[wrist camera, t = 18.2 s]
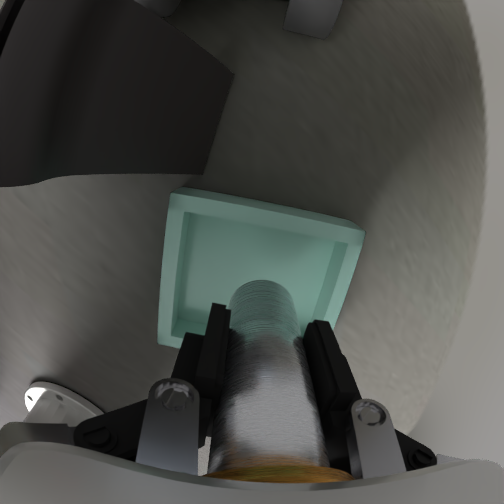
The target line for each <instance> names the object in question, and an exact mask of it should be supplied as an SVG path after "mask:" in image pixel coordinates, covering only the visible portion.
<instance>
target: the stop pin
mask: <svg viewBox="0 0 504 504" xmlns="http://www.w3.org/2000/svg"><path fill="white" fill-rule="evenodd" d="M228 309H230V310H231V318H230V327H229V336H228V344H227V353H226V362H225V371H224V379H223V385H222V390H221V395H220V400H219V404H218V406H217V408H216V410H215V413H214V420H213V428H212V436H211V445H210V453H209V462H208V471H207V474H205V475H202V476H204V477H210V478H218V479H226V480H235V481H247V482H263V483H322V482H338V481H349V480H355V479H354V477H353V476H352V475H350V474H349V473H347V472H344V471H342V470H338V469H334V468H330V464H329V459H328V454H327V449H326V444H325V439H324V434H323V429H322V424H321V420H320V415H319V410H318V406H317V401H316V397H315V392H314V388H313V383H312V379H311V374H310V370H309V365H308V361H307V357H306V352H305V348H304V344H303V340H302V335H301V331H300V327H299V323H298V319H297V315H296V310H295V306H294V302H293V299H292V296H291V295H290V293H289V292H288V290H287V289H286V288H284V287H283V286H282V285H280V284H278V283H276V282H274V281H270V280H254V281H250V282H247V283H245V284H243V285H242V286H240V287H239V288H238V289H237V290H236V291H235V292H234V293H233V294H232V296H231V298H230V301H229V305H228Z"/></svg>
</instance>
